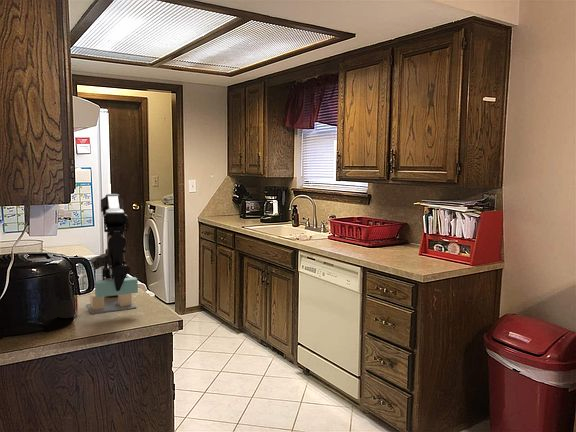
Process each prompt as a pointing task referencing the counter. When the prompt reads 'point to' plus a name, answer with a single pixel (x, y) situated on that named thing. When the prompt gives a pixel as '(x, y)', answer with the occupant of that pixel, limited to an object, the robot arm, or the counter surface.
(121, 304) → the bridge base
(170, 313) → the counter surface
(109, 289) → the teal beam
